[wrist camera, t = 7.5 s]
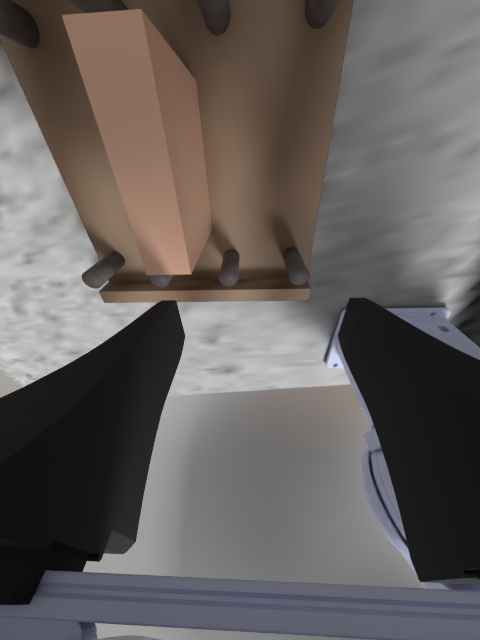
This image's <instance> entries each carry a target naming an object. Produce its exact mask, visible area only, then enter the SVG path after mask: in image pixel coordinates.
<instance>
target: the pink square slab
mask: <svg viewBox="0 0 480 640" xmlns="http://www.w3.org/2000/svg"><path fill="white" fill-rule="evenodd" d="M62 18H63V21H64V24H65V27H66V30H67V33H68V36H69V39H70V42H71V45H72V48H73V51H74V54H75V57H76V61H77V64H78V67H79V70H80V73H81V76H82V79H83V82H84V85H85V88H86V91H87V94H88V97H89V100H90V103H91V106H92V110H93V113H94V116H95V119H96V122H97V125H98V128H99V131H100V134H101V137H102V140H103V143H104V146H105V149H106V152H107V155H108V158H109V162H110V165H111V168H112V171H113V174H114V177H115V180H116V183H117V186H118V189H119V192H120V195H121V198H122V201H123V204H124V207H125V210H126V214H127V217H128V220H129V223H130V226H131V229H132V232H133V235H134V238H135V241H136V244H137V247H138V250H139V253H140V256H141V259H142V262H143V266H144V269H145V272H146V275H185V274H192V272H193V269H194V267H195V265H196V263H197V261H198V259H199V256H200V254H201V252H202V250H203V248H204V245H205V243H206V241H207V239H208V237H209V235H210V232H211V230H212V222H211V212H210V203H209V194H208V185H207V175H206V166H205V157H204V148H203V139H202V129H201V120H200V111H199V102H198V92H197V83H196V80H195V78H194V77H193V76H192V74H191V73H190V72H189V70H188V69H187V68H186V67H185V65H184V64H183V63H182V61H181V60H180V59H179V57H178V56H177V55H176V54H175V52H174V51H173V50H172V48H171V47H170V46H169V44H168V43H167V42H166V41H165V39H164V38H163V37H162V35H161V34H160V33H159V32H158V30H157V29H156V28H155V26H154V25H153V24H152V22H151V21H150V20H149V19H148V17H147V16H146V15H145V13H144V12H143V11H142V9H135V10H121V11H108V12H95V13H82V14H69V15H62Z"/></svg>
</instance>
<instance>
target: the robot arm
mask: <svg viewBox="0 0 480 640" xmlns="http://www.w3.org/2000/svg"><path fill="white" fill-rule="evenodd" d="M432 312H433V313H432ZM450 313H451V311H450V310H449V309H448V308H445V307H443V308H383V307H381V306H380V305H378V304H376V303H374V302H372V301H371V300H368V299H366V298H350V299H349V302H348V305H347V308H346V309H344V310H343V311H342V312H341V315H340V318H339V321H338V325H337V328H336V331H335V334H334V337H333V341H332V344H331V347H330V350H329V353H328V357H327V360H326V367H328V368H344V369H345V371H346V374H347V376H348V378H349V381H350V383H351V385H352V387H353V390H354V392H355V395H356V397H357V399H358V401H359V404H360V406H361V408H362V411H363V413H364V415H365V418H366V420H367V422H368V424H369V427H370V429H371V431H369V432H367V433H365V434H364V437H365V439H366V442H367V444H368V447H369V448H368V449H366V450H364V452H363V454H362V457H361V479H362V484H363V487H364V491H365V494H366V497H367V500H368V502H369V504H370V507H371V509H372V511H373V514H374V516H375V517H376V519H377V521H378V523H379V525H380V527H381V528H382V530H383V531H384V533H385V534H386V536H387V537H388V539H389V540H390V541H391V543H392V544H393V545H394V546H395V547H396V548H397V549H398V550H399V552H400V553H401V554H402V555H403V557H404V558H405V559H406V561H407V562H408V563H409V565H410V566H411V568H412V569H413V571H414V572H415V573H416V575H417V577H418V579H419V580H420V582H421V583H422V585H423V587H424V588H425V589H424V588H403V587H381V586H362V585H339V584H320V583H299V582H277V581H257V580H236V579H215V578H195V577H173V576H153V575H132V574H131V575H130V574H111V573H91V572H82V571H83V569H84V566H85V564H86V561H98V562H99V561H100V560H101V559H102V556H103V554H104V553H109V554H124V553H125V552H127V551H128V550H129V549H130V547H132V545H133V544H134V543H135V542H136V537H137V530H138V524H139V518H140V512H141V507H142V501H143V495H144V489H145V485H146V480H147V474H148V469H149V464H150V460H151V455H152V450H153V446H154V442H155V437H156V433H157V429H158V425H159V421H160V416H161V413H162V410H163V406H164V403H165V400H166V397H167V395H168V392H169V389H170V386H171V384H172V381H173V378H174V375H175V372H176V369H177V367H178V364H179V361H180V358H181V354H182V350H183V345H184V340H185V334H184V330H183V326H182V322H181V318H180V314H179V310H178V306H177V302H176V300H162V301H160V302H159V303H157V304H156V305H154V306H153V307H152V308H150V309H149V310H148V311H146V312H145V313H144V314H142V315H141V316H140V317H138V318H137V319H136V320H134V321H133V322H132V323H130V324H129V325H128V326H126V327H125V328H124V329H122V330H121V331H119V332H118V333H116V334H115V335H114V336H112V337H111V338H109V339H108V340H106V341H105V342H104V343H102V344H101V345H99V346H98V347H96V348H94V349H93V350H91V351H90V352H88V353H86V354H85V355H83V356H81V357H80V358H78V359H76V360H74V361H73V362H71V363H69V364H67V365H66V366H64V367H62V368H60V369H58V370H56V371H54V372H52V373H50V374H48V375H47V376H45V377H43V378H41V379H39V380H37V381H35V382H33V383H31V384H29V385H27V386H25V387H23V388H21V389H19V390H16V391H14V392H12V393H10V394H8V395H6V396H4V397H1V398H0V640H160V639H155V638H149V637H145V636H117V637H109V638H103V639H98V638H97V635H96V625H95V623H107V624H123V625H140V626H157V627H174V628H191V629H207V630H224V631H242V632H259V633H275V634H292V635H309V636H326V637H343V638H360V639H376V640H480V348H479V347H478V346H477V345H476V344H474V343H473V342H472V341H471V340H470V339H469V338H467V337H466V336H465V335H464V334H463V333H462V332H460V331H459V330H458V329H457V328H456V327H455V326H454V325H452V324H451V323H450V322H449V321H448V320H447V318H448V316H449V315H450Z"/></svg>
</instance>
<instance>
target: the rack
mask: <svg viewBox="0 0 480 640" xmlns="http://www.w3.org/2000/svg"><path fill="white" fill-rule="evenodd" d="M352 6H353V0H0V41H1V43H2V45H3V47H4V49H5V52H6V54H7V56H8V58H9V61H10V63H11V65H12V67H13V69H14V72H15V74H16V76H17V78H18V80H19V83H20V85H21V87H22V89H23V92H24V94H25V96H26V98H27V100H28V103H29V105H30V107H31V109H32V111H33V114H34V116H35V118H36V120H37V123H38V125H39V127H40V129H41V131H42V134H43V136H44V138H45V140H46V142H47V145H48V147H49V149H50V151H51V154H52V156H53V158H54V160H55V162H56V165H57V167H58V169H59V171H60V174H61V176H62V178H63V180H64V182H65V185H66V187H67V189H68V191H69V193H70V196H71V198H72V200H73V202H74V205H75V207H76V209H77V211H78V213H79V216H80V218H81V220H82V222H83V224H84V227H85V229H86V231H87V233H88V236H89V238H90V240H91V242H92V244H93V247H94V249H95V251H96V253H97V255H98V258H99V260H100V261H99V262H98V263H96V264H95V265H94V266H92V267H91V268H90V269H88V270H87V271H86V272H84V273H83V274H82V279H83V281H84V283H85V284H86V285H88V286H89V287H91V288H100V287H101V286H102V285H103V284H104V283H105V282H106V281H107V280H109V283H108V284H107V285H105V286H104V287H103V288H102V289H101V290H100V291H99V293H100V295H101V297H102V299H103V301H104V303H123V302H160V301H162V300H176V302H208V301H293V300H309V296H310V291H311V288H310V286H309V283H308V279H309V276H310V275H309V271H308V266H309V260H310V254H311V248H312V242H313V236H314V231H315V225H316V219H317V213H318V207H319V201H320V195H321V189H322V183H323V177H324V171H325V165H326V160H327V154H328V148H329V142H330V136H331V130H332V124H333V118H334V112H335V106H336V100H337V94H338V89H339V83H340V77H341V71H342V65H343V59H344V53H345V47H346V41H347V35H348V29H349V23H350V18H351V12H352ZM135 9H142V11H143V12H144V13H145V15H146V16H147V17H148V19H149V20H150V21H151V22H152V24H153V25H154V26H155V28H156V29H157V30H158V32H159V33H160V34H161V35H162V37H163V38H164V39H165V41H166V42H167V43H168V44H169V46H170V47H171V48H172V50H173V51H174V52H175V54H176V55H177V56H178V57H179V59H180V60H181V61H182V63H183V64H184V65H185V67H186V68H187V69H188V70H189V72H190V73H191V74H192V76H193V77H194V78H195V80H196V83H197V92H198V102H199V111H200V120H201V129H202V139H203V148H204V157H205V166H206V175H207V185H208V194H209V203H210V212H211V222H212V230H211V232H210V235H209V237H208V239H207V241H206V243H205V245H204V248H203V250H202V252H201V254H200V256H199V259H198V261H197V263H196V265H195V267H194V269H193V272H192V274H185V275H146V272H145V269H144V266H143V262H142V259H141V256H140V253H139V250H138V247H137V244H136V241H135V238H134V235H133V232H132V229H131V226H130V223H129V220H128V217H127V214H126V210H125V207H124V204H123V201H122V198H121V195H120V192H119V189H118V186H117V183H116V180H115V177H114V174H113V171H112V168H111V165H110V162H109V158H108V155H107V152H106V149H105V146H104V143H103V140H102V137H101V134H100V131H99V128H98V125H97V122H96V119H95V116H94V113H93V110H92V106H91V103H90V100H89V97H88V94H87V91H86V88H85V85H84V82H83V79H82V76H81V73H80V70H79V67H78V64H77V61H76V57H75V54H74V51H73V48H72V45H71V42H70V39H69V36H68V33H67V30H66V27H65V24H64V21H63V18H62V15H69V14H82V13H95V12H108V11H121V10H135Z"/></svg>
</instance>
